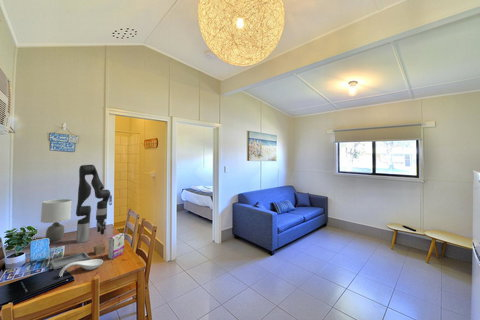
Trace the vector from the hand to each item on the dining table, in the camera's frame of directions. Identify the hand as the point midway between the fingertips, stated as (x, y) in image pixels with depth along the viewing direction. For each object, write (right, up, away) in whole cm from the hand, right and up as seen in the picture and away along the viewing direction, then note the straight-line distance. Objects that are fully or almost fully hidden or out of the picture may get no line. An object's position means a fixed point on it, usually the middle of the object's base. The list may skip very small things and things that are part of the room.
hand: (100, 233), depth 161 cm
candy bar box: (+16, -17, -5) cm, 24 cm away
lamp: (-60, -15, +23) cm, 66 cm away
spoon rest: (+7, -16, -28) cm, 33 cm away
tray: (-10, -15, -17) cm, 25 cm away
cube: (-1, -16, 0) cm, 16 cm away
